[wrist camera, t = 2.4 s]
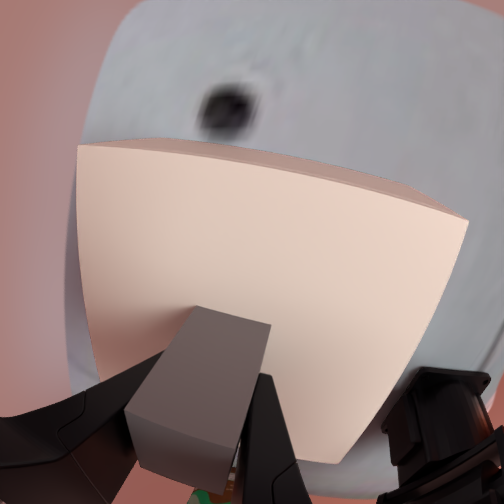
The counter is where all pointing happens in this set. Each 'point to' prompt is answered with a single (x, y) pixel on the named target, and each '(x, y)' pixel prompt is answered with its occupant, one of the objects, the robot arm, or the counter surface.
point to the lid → (251, 298)
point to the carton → (283, 165)
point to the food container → (203, 500)
